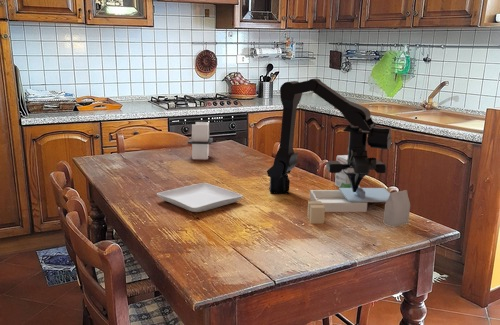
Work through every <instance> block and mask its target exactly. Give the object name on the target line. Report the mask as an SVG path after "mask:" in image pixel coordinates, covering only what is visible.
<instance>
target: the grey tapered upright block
mask: <svg viewBox="0 0 500 325" xmlns="http://www.w3.org/2000/svg"><path fill="white" fill-rule="evenodd" d="M389 193H390V196H389V198H388V200H387V202H385V204H384V213H383V221H382V222H383V224H385V225H387V226H389V227H392V228H395V227H398V226H404V225H407V224H409V220H410V210H411V202H410V199H409V195H408V190H407V189H405V190H399V191H394V192H389ZM406 223H407V224H406Z"/></svg>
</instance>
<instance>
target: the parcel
mask: <svg viewBox="0 0 500 325" xmlns="http://www.w3.org/2000/svg"><path fill="white" fill-rule="evenodd" d="M325 213H326V212H325V207H324V205H323V204H322V202H321V201H311V200H310V201H309V200H308V201H307V216H306V217H307V218H308V221H309V223H310V224H325V216H326V215H325Z"/></svg>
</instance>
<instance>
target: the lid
mask: <svg viewBox="0 0 500 325" xmlns="http://www.w3.org/2000/svg"><path fill="white" fill-rule="evenodd" d="M338 190H340V191H341V192H342V194H343V195H344V196H345V197H346V199H347V200H348V201H349V202H367V203H386V202H387V200H388V198H389V196H390V193H391V192H389V191H388V190H387V189H386V188H385V187H361V186H360V185H359V186H358V188H357V190H356V192H353V191H352V188H339V187H338Z"/></svg>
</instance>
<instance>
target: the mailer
mask: <svg viewBox="0 0 500 325" xmlns="http://www.w3.org/2000/svg"><path fill="white" fill-rule="evenodd" d="M309 199H310V201H321V202H322V204H323V205H324V207H325V213H367V212H368V202H349V201H348V200H347V199H346V197H345V196H344V195H343V194H342V192H341V191H340V190H339V189H310V190H309Z"/></svg>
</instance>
